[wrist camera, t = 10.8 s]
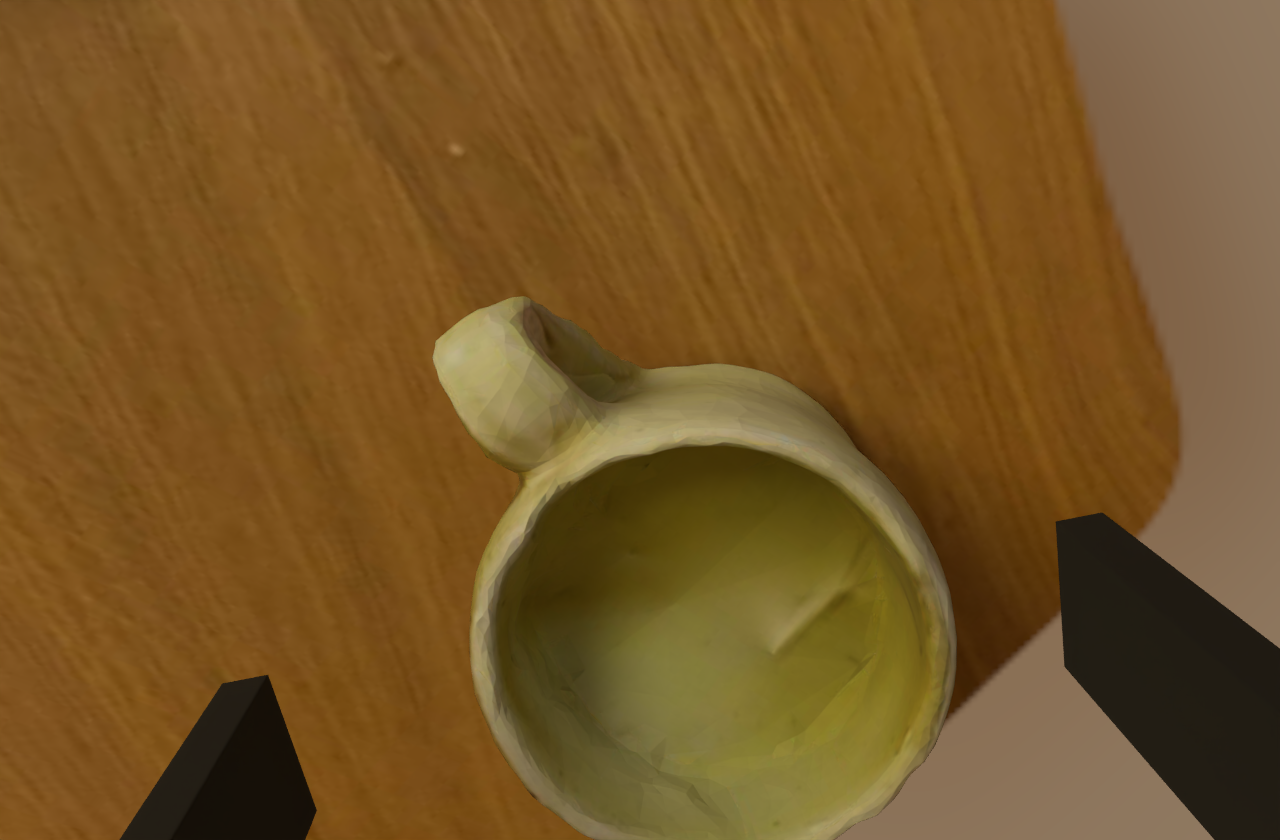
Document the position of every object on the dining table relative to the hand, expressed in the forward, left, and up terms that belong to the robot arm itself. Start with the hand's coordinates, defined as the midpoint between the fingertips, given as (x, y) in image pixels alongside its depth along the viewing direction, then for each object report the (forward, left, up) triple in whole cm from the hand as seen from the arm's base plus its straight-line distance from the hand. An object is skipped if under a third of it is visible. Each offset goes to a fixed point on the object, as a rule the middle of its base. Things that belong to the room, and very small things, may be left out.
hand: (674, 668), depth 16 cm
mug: (0, 0, -10) cm, 10 cm away
